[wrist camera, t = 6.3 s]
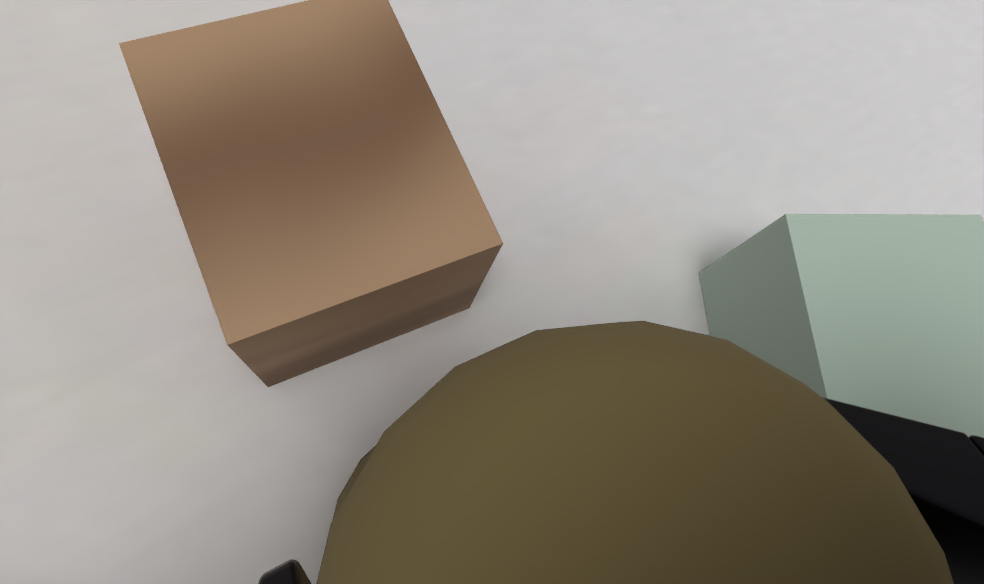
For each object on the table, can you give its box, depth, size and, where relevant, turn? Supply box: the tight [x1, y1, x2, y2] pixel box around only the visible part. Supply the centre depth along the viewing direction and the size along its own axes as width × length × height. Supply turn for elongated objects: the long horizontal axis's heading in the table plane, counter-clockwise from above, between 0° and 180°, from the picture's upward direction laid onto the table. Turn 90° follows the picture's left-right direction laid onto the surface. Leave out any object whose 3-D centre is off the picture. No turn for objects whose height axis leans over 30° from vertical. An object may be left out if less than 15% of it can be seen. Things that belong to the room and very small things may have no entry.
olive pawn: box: [317, 321, 954, 584], centre depth 9 cm, size 6×6×11 cm
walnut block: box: [119, 0, 503, 387], centre depth 14 cm, size 6×5×4 cm
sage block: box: [699, 214, 984, 437], centre depth 15 cm, size 5×5×4 cm
